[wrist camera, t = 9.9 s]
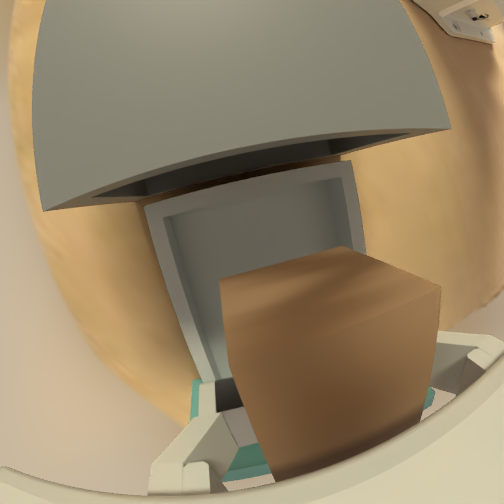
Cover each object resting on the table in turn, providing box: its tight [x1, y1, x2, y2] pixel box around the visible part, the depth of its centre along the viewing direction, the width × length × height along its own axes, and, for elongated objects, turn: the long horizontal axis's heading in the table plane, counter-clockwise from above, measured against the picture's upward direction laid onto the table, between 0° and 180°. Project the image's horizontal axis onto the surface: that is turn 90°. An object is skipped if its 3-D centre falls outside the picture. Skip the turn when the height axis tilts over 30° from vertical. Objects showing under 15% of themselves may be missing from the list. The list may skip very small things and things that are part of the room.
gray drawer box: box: [32, 0, 451, 212], centre depth 10 cm, size 14×14×10 cm
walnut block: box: [219, 246, 441, 482], centre depth 8 cm, size 4×7×5 cm, turn 13°
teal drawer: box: [144, 160, 435, 482], centre depth 13 cm, size 14×14×9 cm
